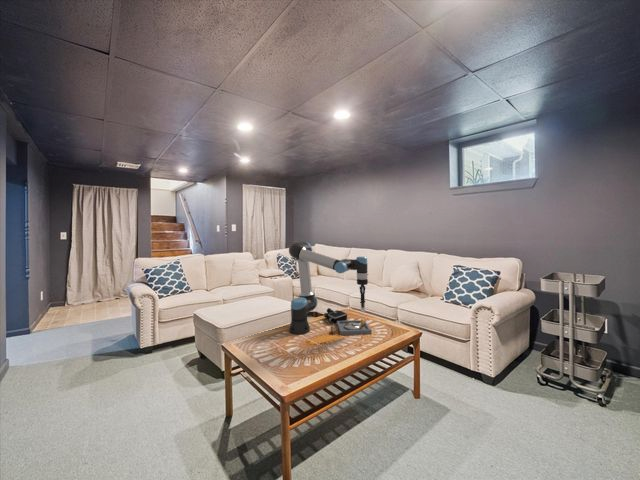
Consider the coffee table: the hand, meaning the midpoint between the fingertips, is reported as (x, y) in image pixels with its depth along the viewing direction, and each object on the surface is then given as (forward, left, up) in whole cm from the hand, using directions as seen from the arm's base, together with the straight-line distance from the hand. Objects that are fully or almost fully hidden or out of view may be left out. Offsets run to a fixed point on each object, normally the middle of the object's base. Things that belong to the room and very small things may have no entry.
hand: (362, 311), depth 207 cm
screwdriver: (-20, +8, -16) cm, 27 cm away
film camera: (-17, +31, -16) cm, 39 cm away
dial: (-5, +10, -14) cm, 18 cm away
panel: (-5, +10, -16) cm, 19 cm away
